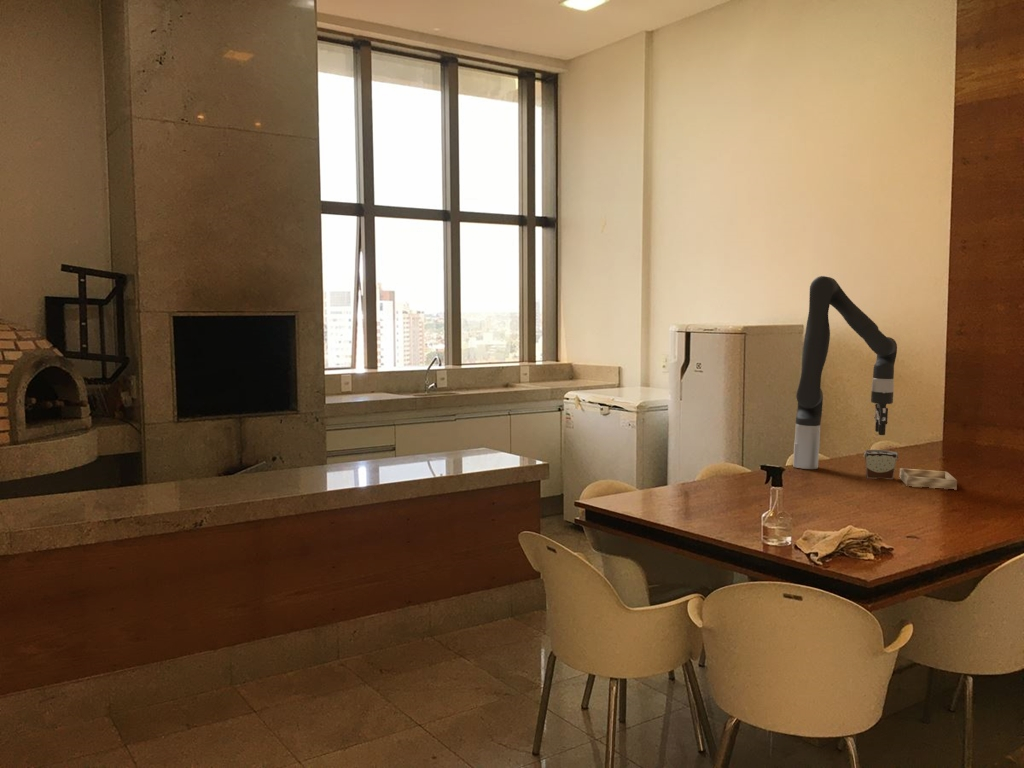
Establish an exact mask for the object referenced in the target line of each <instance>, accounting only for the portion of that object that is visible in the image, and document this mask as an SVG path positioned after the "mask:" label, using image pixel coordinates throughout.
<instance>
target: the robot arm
mask: <svg viewBox="0 0 1024 768" xmlns="http://www.w3.org/2000/svg"><path fill="white" fill-rule="evenodd" d="M808 303H809V305H808V313H807V314H808V315H807V320H806V327H805V334H804V339H803V346H802V358H801V359H802V360H801V361H802V362H801V364H802V365H801V367H802V368H801V373H800V379H799V384H798V388H797V391H796V395H795V397H796V401H797V409H796V417H795V427H794V428H795V430H794V442H793V455H792V456H793V458H792V465H793V468H798V469H803V470H816V469H819V457H820V456H819V455H820V441H821V440H820V437H821V421H822V420H821V419H822V415H823V414H822V413H823V412H822V411H823V399H824V398H823V397H824V396H823V395H824V393H823V390H822V389H821V384H822V383H821V380H822V375H823V374H822V373H823V370H824V366H825V363H826V361H827V356H828V352H829V347H830V339H831V329H830V321H829V309H830V306H831V307H833V308H834V309H835V310H836V311H837V312H838V313H839V314H840V315H841V317H843V320H844V321H845V322H846V324H848V326H849V327H850V328H851V329H852V330H853V331H854V332H855V333H856V334H857V336H859V337H860V338H861V339H862V340H863V341H864V343H866V345H867V346H868V348H870V349H871V351H873V353H874V354H876V360H875V363H874V365H873V371H872V373H873V374H872V382H871V391H870V392H871V393H870V403H872V404H875V405H874V407H875V408H874V421H875V425H874V431H875V432H877V433H878V435H879V436H885V435H886V427H887V425H888V418H889V417H888V415H889V414H888V412H889V409H888V407H887V405H893V402H894V390H895V389H894V388H895V385H894V384H895V383H894V381H895V380H894V376H895V374H894V373H895V362H896V358H897V353H898V344H897V342H896V340H895V339H894V338H893V337H890V336H886V335H885V334H884V333H883V332H882V331H881V330H880V329H879V326H878V325H877V323H875V322H874V321H873V320H872V319H871V318H870V317H869V316H868V315H867V314H866V313H865V312H864V311H862V310H861V309H860V307H858V306H857V305H856V304H855V303H854V302H853V301H852V300H851V299H850V298H849V296H848V295H847V294H846V292H845V291H844V290H843V289H842V287H841V286H840V284H839V283H838V282H837V280H836V279H835V278H833V277H830V276H825V275H821V276H817V277H816V278H814V279H813V280H812V282H811V283H810V286H809V301H808Z"/></svg>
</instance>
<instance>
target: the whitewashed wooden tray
mask: <svg viewBox="0 0 1024 768" xmlns="http://www.w3.org/2000/svg"><path fill="white" fill-rule="evenodd" d="M899 477H900V478H899V479H900V480H901V481H902V482H903V484H905V486H906V487H909V486H912V487H911V488H922V487H929V488H928V489H935V488H944V489H943V490H948V489H954V490H953V491H957V489H958V487H957V486H958V480H957V479H956V478H955V477H954V476H953V475H951V474H950V473H949V472H948V471H942V470H928V469H913V468H901V467H900V468H899Z"/></svg>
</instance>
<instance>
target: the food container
mask: <svg viewBox="0 0 1024 768" xmlns="http://www.w3.org/2000/svg"><path fill="white" fill-rule="evenodd" d="M863 458H865V459H864V460H865V477H866V479H877V478H886V479H885V480H894V477H895V476H894V475H895V469H896V464H897V463H896V462H897V459H899V454H898V452H896V451H893V450H885V449H867V450H865V451H864V453H863Z"/></svg>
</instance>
